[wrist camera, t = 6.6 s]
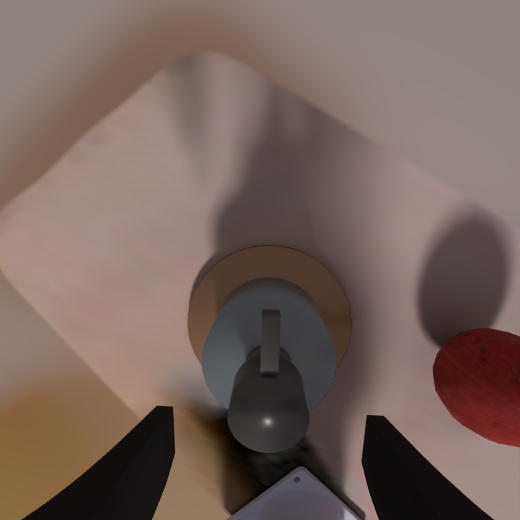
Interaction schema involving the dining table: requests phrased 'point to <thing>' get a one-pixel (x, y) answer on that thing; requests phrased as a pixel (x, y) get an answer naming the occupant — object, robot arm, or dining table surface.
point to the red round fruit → (482, 382)
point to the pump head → (268, 396)
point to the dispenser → (250, 317)
